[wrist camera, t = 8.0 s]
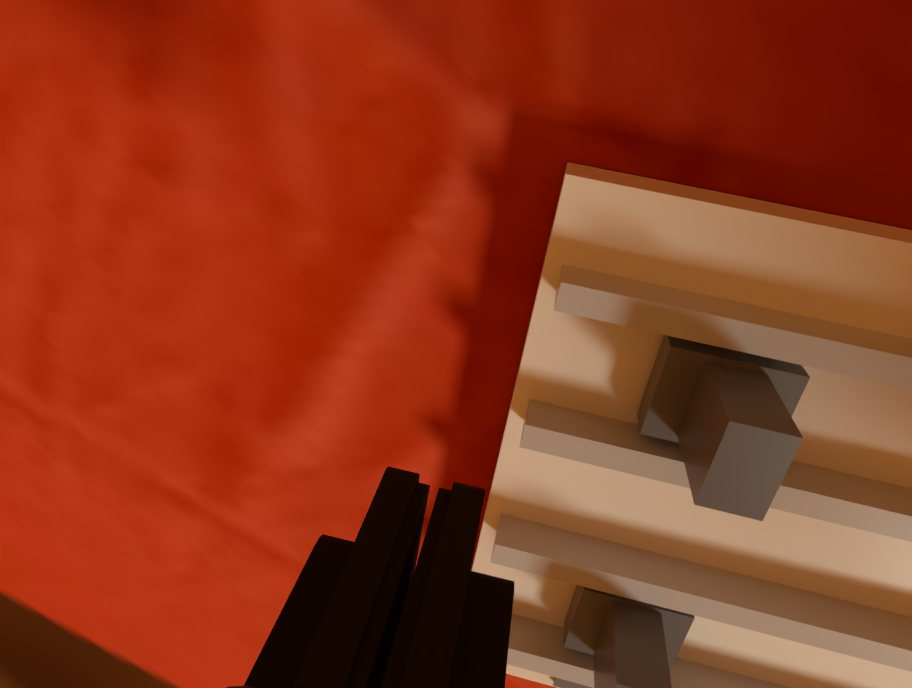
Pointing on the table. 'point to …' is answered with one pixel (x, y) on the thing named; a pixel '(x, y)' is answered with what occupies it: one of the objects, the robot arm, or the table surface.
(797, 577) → the switch panel
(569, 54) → the table surface
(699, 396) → the switch tab
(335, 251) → the table surface
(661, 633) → the switch tab
